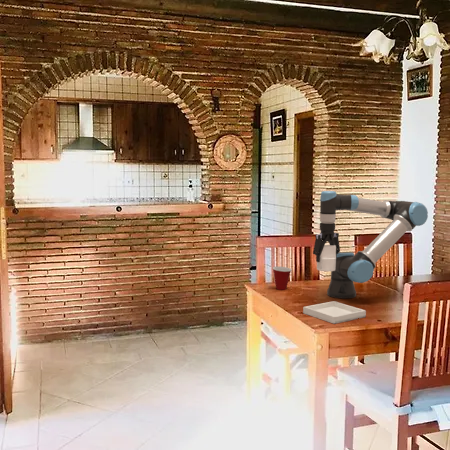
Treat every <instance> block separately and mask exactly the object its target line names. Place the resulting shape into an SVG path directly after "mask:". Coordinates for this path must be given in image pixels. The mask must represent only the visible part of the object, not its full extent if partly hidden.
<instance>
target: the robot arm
mask: <svg viewBox="0 0 450 450" xmlns="http://www.w3.org/2000/svg"><path fill="white" fill-rule="evenodd" d="M319 202H320V203H319V204H320V206H319V208H320V209H319V230H320V233H318V234H317V233H316V234H315V241H314V245H313V251H312V254H313V255H315V257H316V258H315V261H316V269H317V268H318V269H322V256H320V255H321V253H322V250H323V248H324V245H325V244H327V242H328V243H329V244H328V245H335V246H336V267H335V271H330V282H329V286H328V288H327V290H326V295H327V296H329V297H331V298H336V299H354V298H356V296H357V290H356V288H355V283H359V284H364V283H366V282H368V281H370V280H371V279H372V278H373V275H374V270H375V268H377V267H376V264H377V262H378V261H379V260H380V259H381V258H382V257H383V256H384V255H385V254H386V253H387V252H388V251H389V250H390V249H391V248H392V246H394V245H395V244H396V243H397V242H398V241H399V240H400V238H401V237H402V236H403V235H405V233H406V232H411V231H413V229H415V228H416V227H419V226H422V225H424V224H425V223H426V222H427V220H428V217H429V216H428V214H429V212H428V208H427V207H426V205H424V204H423V203H421V202H418V201H414V202H413V201H408V200H407V201H405V200H383V201H381V200H375V199H369V198H364V197H358V196H357V195H356V194H341V193H337V192H336V191H335V190H334V191H333V190H324V191H323V190H322V191H321V193H320V198H319ZM337 211H348V212H354V213H355V212H356V213H363V214H368V215H374V216H380V218H382V219H387V220H391V222H389V224H388V225H387V226H386V227H385V228H384V229H383V230H382V231H381V232H380V233H379V235H377V237H375V239H373V240H372V241H371V242H370V244H369V245H367V246H366V247H365V248H364V249H363V250H362V251H361V250H359V251H357V252H356V253H354V252H341V248H340V239H339V236H340V235H339V232H335V230H336V216H337V215H336V212H337Z"/></svg>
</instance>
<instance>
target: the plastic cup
mask: <svg viewBox="0 0 450 450" xmlns="http://www.w3.org/2000/svg"><path fill="white" fill-rule="evenodd" d="M272 270H273V277H274V284H275V288H276V290H277V289H278V291H286V290H287V287H288V283H289V279H290V274H291V272H292V271H293V269H292V268H290V267H286V266H273V267H272ZM285 289H286V290H285Z"/></svg>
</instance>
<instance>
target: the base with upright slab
mask: <svg viewBox="0 0 450 450" xmlns="http://www.w3.org/2000/svg"><path fill="white" fill-rule="evenodd" d="M320 256H322V269H318V268H317V267H316V270H317V271H320V272H331V271H335V267H336V246H335V245H330V244H326V245H324V248H323V250H322V253H321V255H320Z"/></svg>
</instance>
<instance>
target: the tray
mask: <svg viewBox="0 0 450 450" xmlns="http://www.w3.org/2000/svg"><path fill="white" fill-rule="evenodd" d="M302 310H303V311H302V313H303V314H305V315H307V316H311V317H313V318H316V319H319V320H322V321H325V322H328V323H331V324H334V325H335V324H340V323H344V322H349V321H354V320H357V319H358V318H359V319H362V318H366V314H367V311H366V309H362V308H358V307H355V306H352V305H348V304H345V303H342V302H338V301H336V300H334V301H333V300H331V301H329V302H328V301H327V302H323V303H317V304H312V305H307V306H303V309H302Z"/></svg>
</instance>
